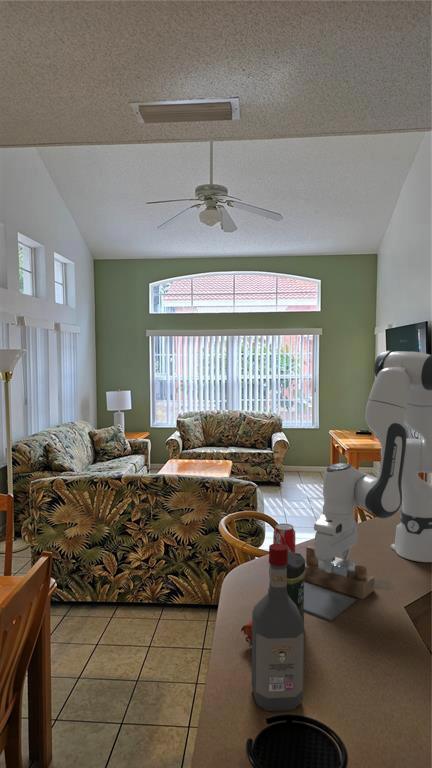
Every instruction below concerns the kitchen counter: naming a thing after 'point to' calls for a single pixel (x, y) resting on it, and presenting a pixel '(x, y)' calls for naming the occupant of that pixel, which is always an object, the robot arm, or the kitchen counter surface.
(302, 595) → the coffee jar
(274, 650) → the liquor
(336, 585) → the hand plane
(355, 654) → the kitchen counter surface
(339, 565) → the lever cap
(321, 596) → the rubber mat
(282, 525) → the soda can
